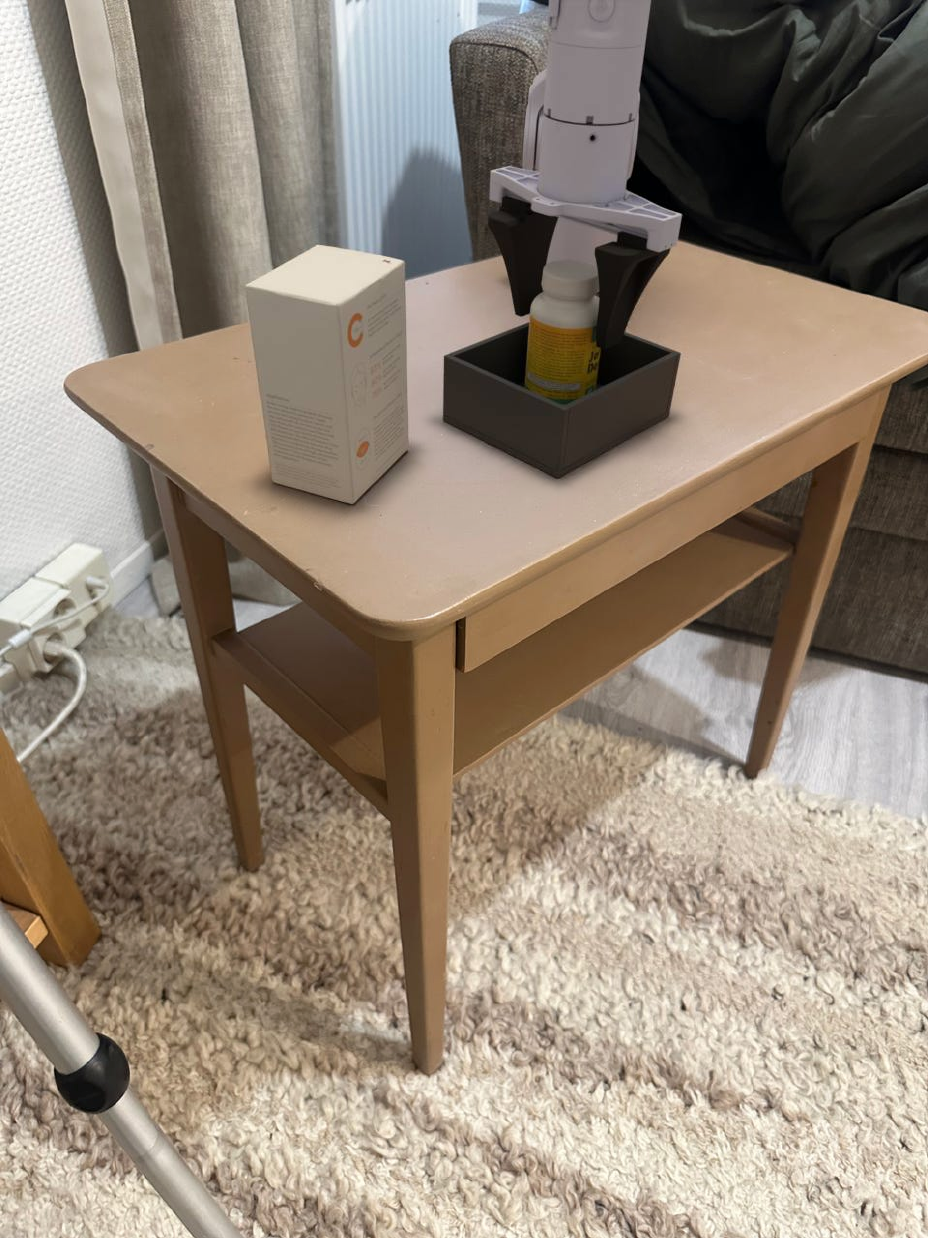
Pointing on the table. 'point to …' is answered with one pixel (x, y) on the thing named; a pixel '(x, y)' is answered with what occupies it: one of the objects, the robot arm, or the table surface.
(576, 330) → the supplement bottle
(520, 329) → the open black bin
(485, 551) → the table surface
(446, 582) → the table surface
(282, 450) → the small box
